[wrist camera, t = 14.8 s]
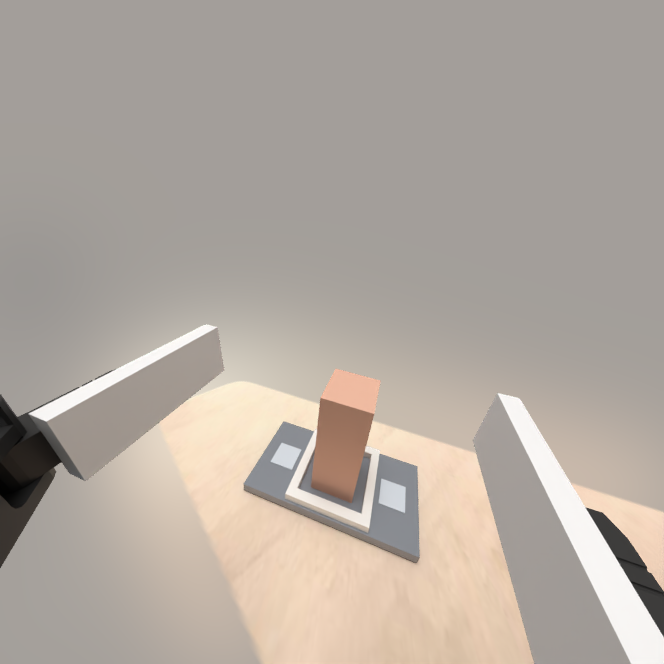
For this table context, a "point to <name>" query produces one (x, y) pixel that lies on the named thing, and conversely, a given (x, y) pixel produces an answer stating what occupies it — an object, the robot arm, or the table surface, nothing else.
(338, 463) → the terracotta pillar
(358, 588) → the table surface
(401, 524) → the base board
